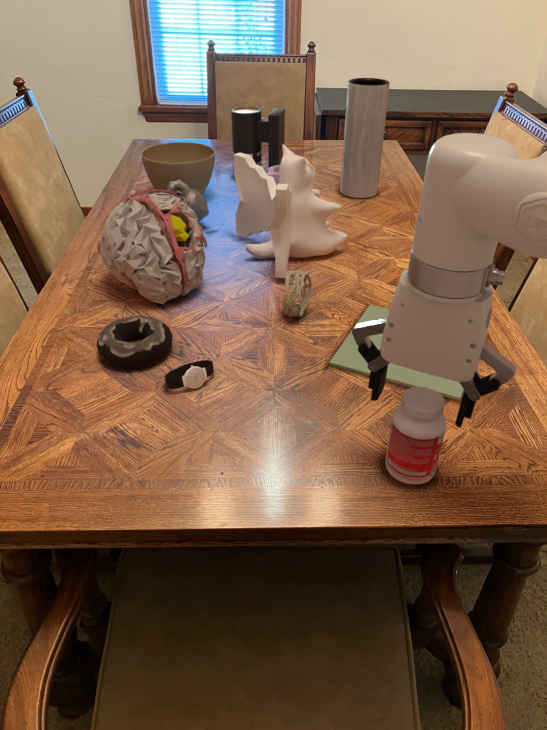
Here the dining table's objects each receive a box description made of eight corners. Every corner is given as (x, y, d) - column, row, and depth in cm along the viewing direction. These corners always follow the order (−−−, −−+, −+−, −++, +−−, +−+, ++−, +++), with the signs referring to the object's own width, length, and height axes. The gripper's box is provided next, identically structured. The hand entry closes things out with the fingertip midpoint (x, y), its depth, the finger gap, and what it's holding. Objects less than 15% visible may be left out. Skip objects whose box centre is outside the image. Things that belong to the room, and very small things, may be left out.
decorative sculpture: (128, 336, 109) (156, 292, 92) (70, 244, 109) (87, 184, 92) (205, 298, 119) (243, 252, 102) (151, 214, 119) (180, 155, 102)
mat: (483, 333, 96) (484, 330, 96) (459, 401, 82) (460, 398, 81) (369, 307, 103) (369, 304, 103) (328, 365, 89) (329, 362, 88)
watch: (174, 399, 82) (172, 378, 80) (159, 383, 85) (156, 363, 83) (220, 380, 85) (219, 360, 83) (204, 365, 89) (203, 345, 86)
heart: (216, 233, 130) (211, 177, 124) (175, 238, 127) (168, 182, 122) (206, 224, 138) (200, 173, 133) (167, 229, 136) (160, 176, 130)
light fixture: (237, 171, 168) (235, 105, 158) (284, 173, 166) (285, 107, 156) (229, 181, 160) (227, 113, 150) (278, 184, 158) (278, 115, 148)
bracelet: (279, 323, 99) (279, 282, 94) (289, 301, 105) (290, 261, 100) (302, 326, 98) (303, 285, 93) (311, 304, 104) (313, 264, 99)
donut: (176, 367, 88) (174, 346, 86) (97, 377, 86) (92, 355, 84) (171, 328, 97) (169, 307, 95) (100, 336, 95) (95, 315, 93)
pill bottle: (438, 488, 68) (455, 418, 62) (386, 484, 69) (397, 414, 62) (432, 452, 73) (447, 383, 67) (383, 448, 74) (394, 380, 67)
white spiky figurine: (365, 268, 116) (377, 161, 104) (268, 287, 109) (268, 175, 97) (312, 225, 135) (316, 130, 122) (226, 238, 128) (221, 140, 116)
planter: (337, 197, 150) (345, 84, 135) (342, 184, 158) (350, 76, 143) (376, 200, 149) (388, 85, 133) (378, 187, 157) (391, 78, 141)
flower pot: (133, 206, 144) (126, 157, 137) (170, 184, 158) (165, 139, 151) (196, 216, 139) (192, 166, 132) (229, 193, 152) (227, 146, 145)
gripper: (545, 275, 55) (500, 410, 65) (374, 239, 61) (357, 368, 71) (538, 311, 50) (490, 452, 60) (350, 268, 56) (335, 403, 66)
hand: (417, 406), depth 66 cm, fingers open, 9 cm apart
